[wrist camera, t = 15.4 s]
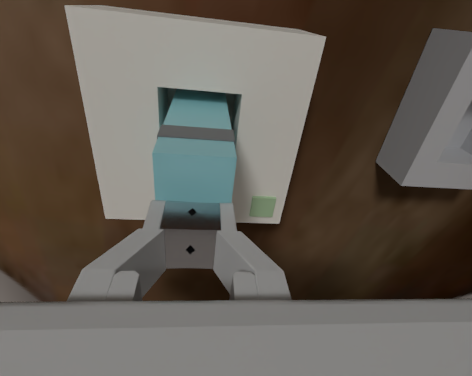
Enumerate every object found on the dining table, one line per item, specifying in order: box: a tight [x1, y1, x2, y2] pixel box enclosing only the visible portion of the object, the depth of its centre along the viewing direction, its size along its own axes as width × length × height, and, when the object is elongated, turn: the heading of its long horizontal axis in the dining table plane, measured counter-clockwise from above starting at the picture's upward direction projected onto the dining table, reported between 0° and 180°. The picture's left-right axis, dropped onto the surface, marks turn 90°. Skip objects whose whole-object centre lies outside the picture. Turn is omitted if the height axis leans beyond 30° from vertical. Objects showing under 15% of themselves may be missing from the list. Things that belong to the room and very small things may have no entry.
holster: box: [376, 28, 472, 189], centre depth 20 cm, size 10×8×4 cm
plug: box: [152, 89, 237, 203], centre depth 15 cm, size 4×3×10 cm
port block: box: [64, 5, 326, 224], centre depth 18 cm, size 12×12×5 cm
